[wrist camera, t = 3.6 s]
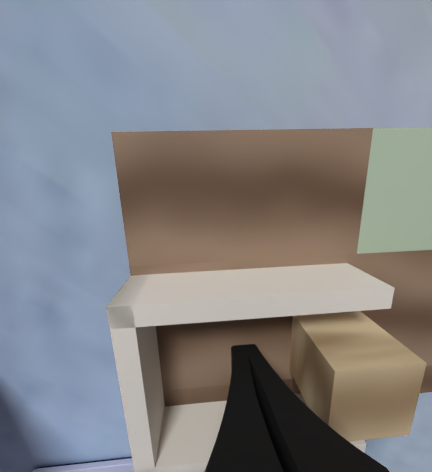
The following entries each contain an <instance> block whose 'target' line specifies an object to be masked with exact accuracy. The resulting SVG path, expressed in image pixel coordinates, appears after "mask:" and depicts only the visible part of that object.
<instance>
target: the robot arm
mask: <svg viewBox="0 0 432 472" xmlns="http://www.w3.org/2000/svg"><path fill="white" fill-rule="evenodd" d="M32 472H134V467H133V461H132V458H127V459H119V460H110V461H101V462H92V463H83V464H74V465H65V466H56V467H47V468H38V469H34V470H33V471H32ZM204 472H389V471H388V469H387V468H386V467H384V466H383V465H381V464H380V463H378V462H377V461H375V460H374V459H373V458H371V457H370V456H368V455H367V454H365V453H364V452H362V451H361V450H359V449H358V448H357V447H355V446H354V445H353V444H351V443H350V442H349V441H347V440H346V439H345V438H343V437H342V436H341V435H339V434H338V433H337V432H336V431H335V430H333V429H332V428H331V427H330V426H329V425H327V424H326V423H325V422H324V421H323V420H321V419H320V418H319V417H318V416H317V415H316V414H315V413H314V412H313V411H312V410H310V409H309V408H308V407H307V406H306V405H305V404H304V403H303V402H302V401H301V400H300V399H299V398H298V397H297V396H296V395H295V394H294V393H293V391H292V390H291V389H290V388H289V387H288V386H287V385H286V384H285V383H284V381H283V380H282V379H281V378H280V377H279V375H278V374H277V373H276V372H275V371H274V369H273V368H272V367H271V366H270V364H269V363H268V362H267V360H266V359H265V357H264V356H263V355H262V353H261V352H260V350H259V349H258V347H257V346H256V345H255V344H247V345H235V346H232V347H231V380H230V386H229V392H228V398H227V402H226V407H225V411H224V415H223V418H222V422H221V425H220V429H219V432H218V435H217V439H216V441H215V444H214V447H213V450H212V453H211V456H210V459H209V461H208V464H207V466H206V469H205V471H204Z"/></svg>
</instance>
